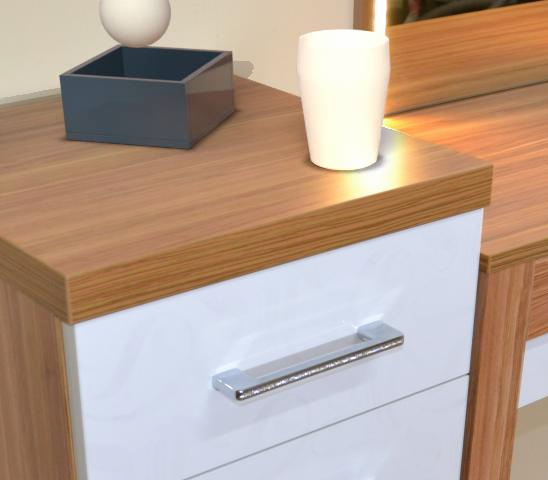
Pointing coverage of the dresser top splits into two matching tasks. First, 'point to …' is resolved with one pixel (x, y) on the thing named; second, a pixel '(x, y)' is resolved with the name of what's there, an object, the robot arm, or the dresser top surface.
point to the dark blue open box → (148, 96)
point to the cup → (343, 95)
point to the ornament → (135, 20)
